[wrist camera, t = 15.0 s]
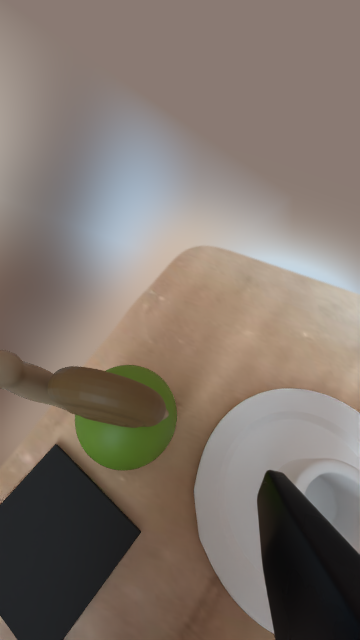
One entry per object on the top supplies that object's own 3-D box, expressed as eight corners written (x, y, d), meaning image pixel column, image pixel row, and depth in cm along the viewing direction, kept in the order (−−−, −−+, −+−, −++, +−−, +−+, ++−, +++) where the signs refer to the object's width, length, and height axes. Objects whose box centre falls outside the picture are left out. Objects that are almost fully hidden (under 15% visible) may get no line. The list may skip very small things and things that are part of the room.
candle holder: (153, 533, 16) (143, 556, 13) (255, 356, 21) (271, 332, 17) (371, 711, 14) (447, 815, 10) (440, 463, 18) (512, 464, 14)
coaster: (42, 667, 14) (39, 671, 14) (-41, 552, 16) (-45, 553, 16) (141, 531, 17) (140, 532, 16) (57, 444, 19) (55, 443, 18)
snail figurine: (91, 369, 20) (-17, 267, 10) (185, 385, 20) (182, 297, 9) (65, 455, 18) (-116, 450, 7) (169, 477, 18) (140, 506, 7)
